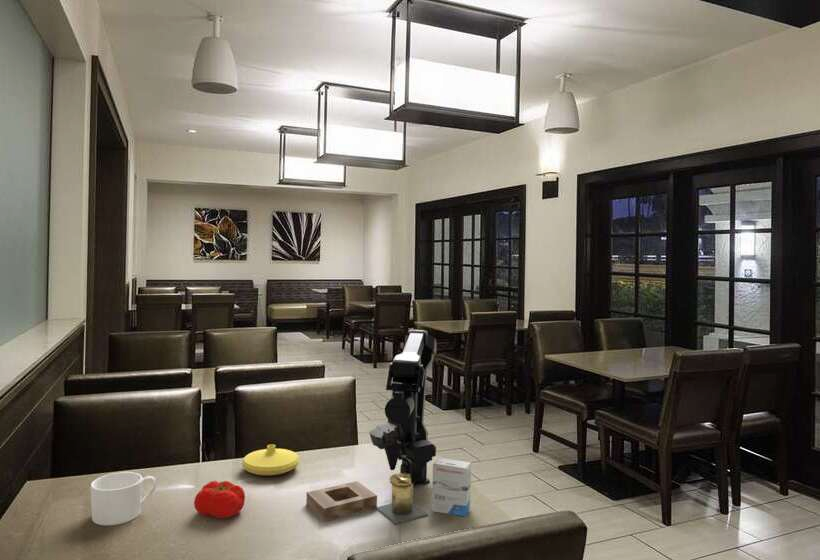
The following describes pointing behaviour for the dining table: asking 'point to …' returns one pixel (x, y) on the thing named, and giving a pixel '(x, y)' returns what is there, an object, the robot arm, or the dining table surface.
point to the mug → (118, 497)
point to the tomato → (220, 499)
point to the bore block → (355, 502)
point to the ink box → (451, 487)
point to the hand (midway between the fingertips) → (402, 476)
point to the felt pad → (397, 519)
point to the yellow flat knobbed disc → (270, 461)
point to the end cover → (402, 493)
